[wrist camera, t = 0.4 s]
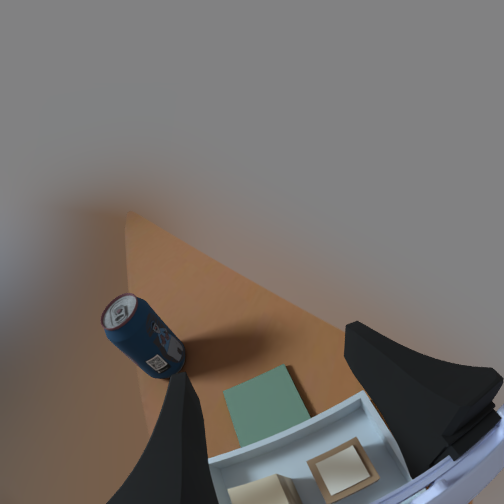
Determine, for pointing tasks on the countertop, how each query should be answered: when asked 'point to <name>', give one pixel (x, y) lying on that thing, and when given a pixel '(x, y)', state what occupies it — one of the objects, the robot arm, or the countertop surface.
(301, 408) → the mat
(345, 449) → the brown wooden block
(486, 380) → the robot arm
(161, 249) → the countertop surface
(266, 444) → the bin
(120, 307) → the soda can
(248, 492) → the birch block
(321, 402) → the countertop surface
